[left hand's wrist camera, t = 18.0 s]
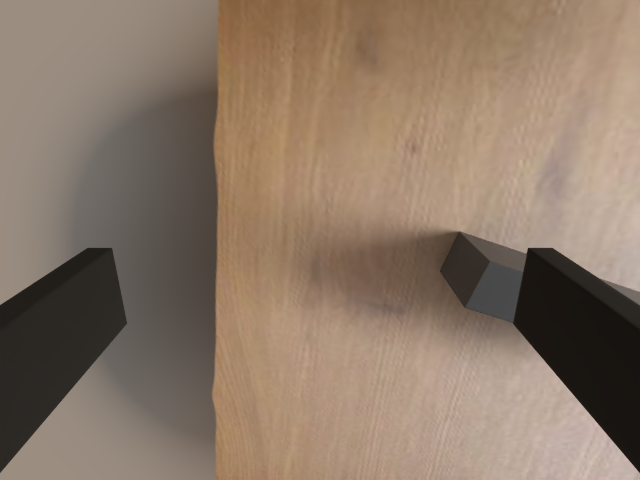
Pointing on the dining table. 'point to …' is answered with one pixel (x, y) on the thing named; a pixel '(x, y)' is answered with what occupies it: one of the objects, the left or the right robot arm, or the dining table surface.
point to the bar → (492, 276)
